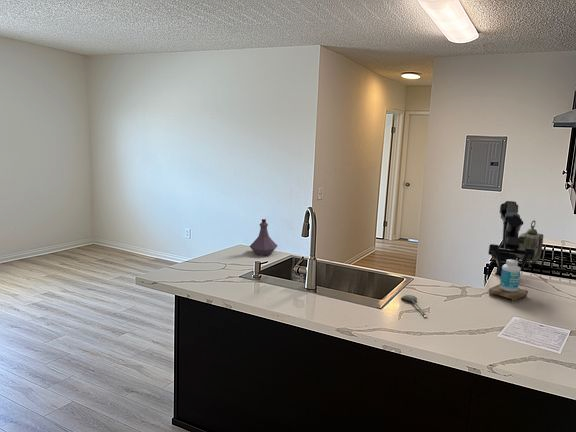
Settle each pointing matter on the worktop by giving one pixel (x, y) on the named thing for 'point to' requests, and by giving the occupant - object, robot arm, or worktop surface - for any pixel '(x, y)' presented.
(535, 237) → the tabletop clock
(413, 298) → the soupspoon
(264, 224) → the flask
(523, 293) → the small wooden pallet
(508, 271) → the pill bottle
